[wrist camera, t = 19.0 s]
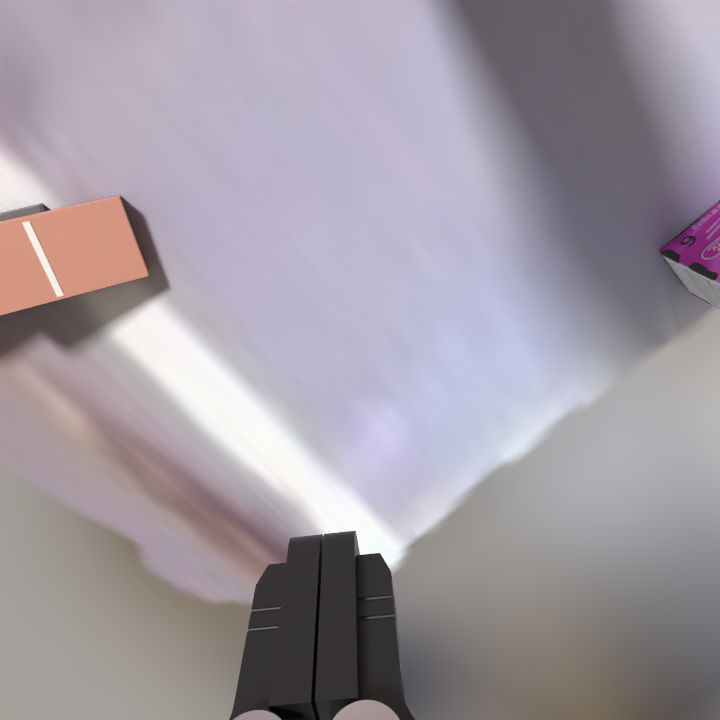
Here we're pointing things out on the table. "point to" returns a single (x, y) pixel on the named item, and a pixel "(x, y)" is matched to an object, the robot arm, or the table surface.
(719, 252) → the candy bar box
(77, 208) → the domino
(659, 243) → the table surface
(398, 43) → the table surface
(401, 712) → the robot arm
